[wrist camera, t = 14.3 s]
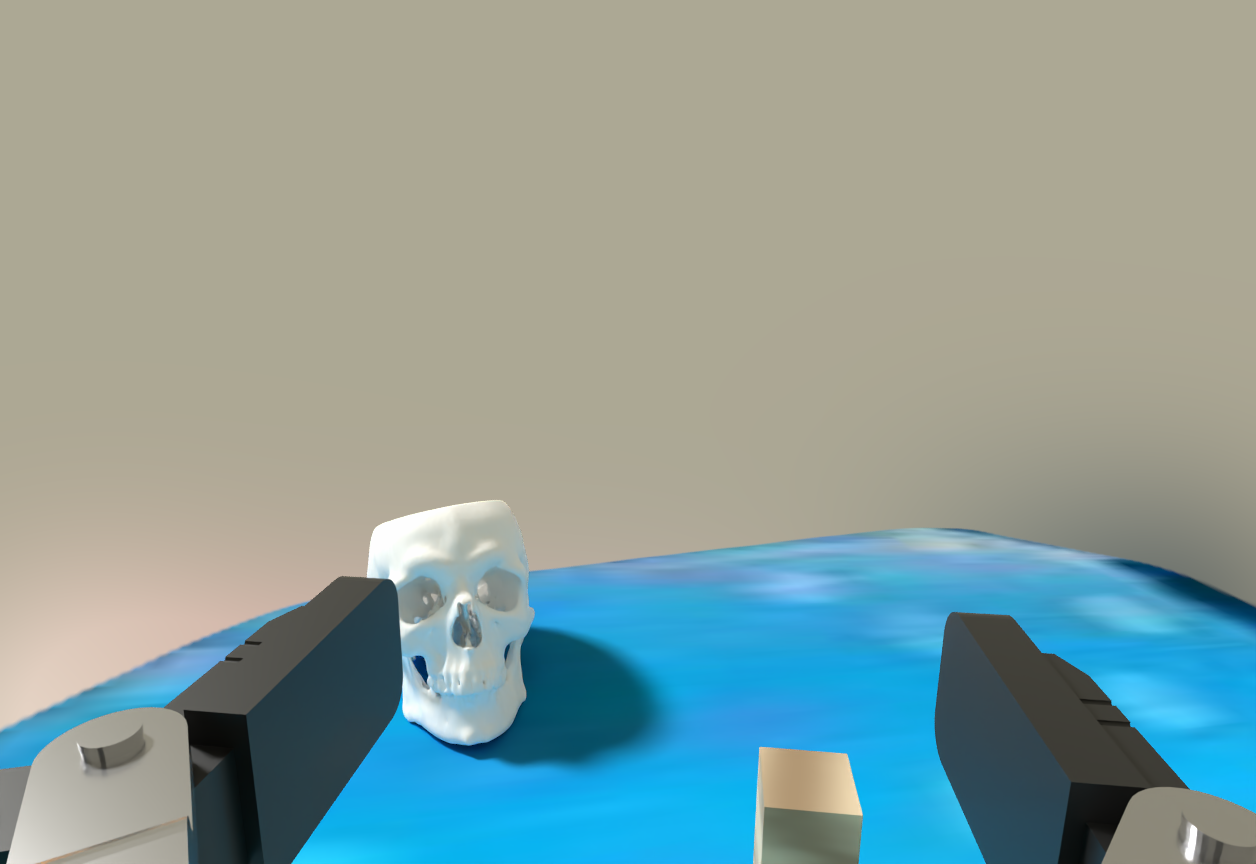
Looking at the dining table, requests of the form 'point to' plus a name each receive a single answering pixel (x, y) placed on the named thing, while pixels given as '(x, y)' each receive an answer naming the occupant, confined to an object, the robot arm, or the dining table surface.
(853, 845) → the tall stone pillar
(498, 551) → the skull planter
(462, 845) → the dining table surface
